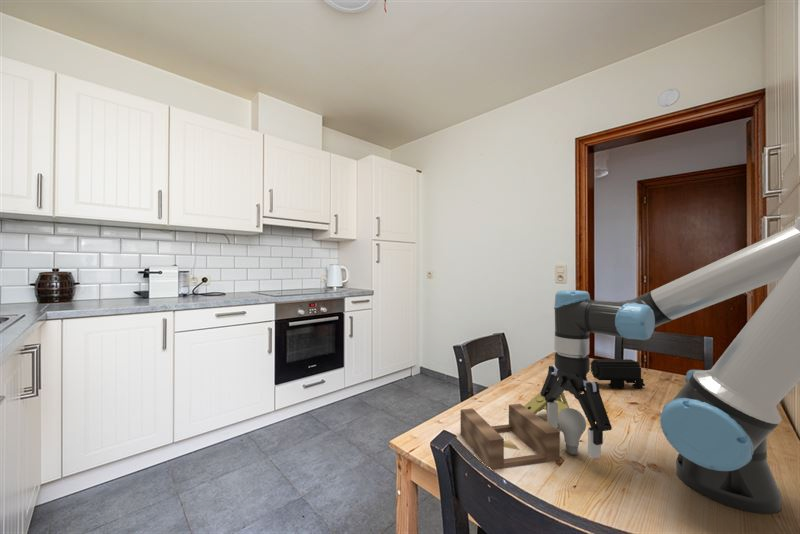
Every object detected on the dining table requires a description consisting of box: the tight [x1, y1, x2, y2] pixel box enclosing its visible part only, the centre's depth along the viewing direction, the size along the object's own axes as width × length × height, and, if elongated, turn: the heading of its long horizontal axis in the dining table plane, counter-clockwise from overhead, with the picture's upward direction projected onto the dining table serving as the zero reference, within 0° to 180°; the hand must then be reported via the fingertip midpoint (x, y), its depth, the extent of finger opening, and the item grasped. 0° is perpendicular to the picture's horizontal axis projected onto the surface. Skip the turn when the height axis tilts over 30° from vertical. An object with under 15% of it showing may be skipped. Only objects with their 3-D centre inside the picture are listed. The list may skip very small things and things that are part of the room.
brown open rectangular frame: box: [460, 403, 561, 471], centre depth 80 cm, size 16×18×7 cm
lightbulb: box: [558, 407, 587, 455], centre depth 78 cm, size 6×6×11 cm
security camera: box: [590, 358, 646, 389], centre depth 123 cm, size 7×18×10 cm, turn 89°
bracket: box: [523, 391, 570, 422], centre depth 94 cm, size 10×14×10 cm
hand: (571, 441), depth 78 cm, fingers open, 13 cm apart
